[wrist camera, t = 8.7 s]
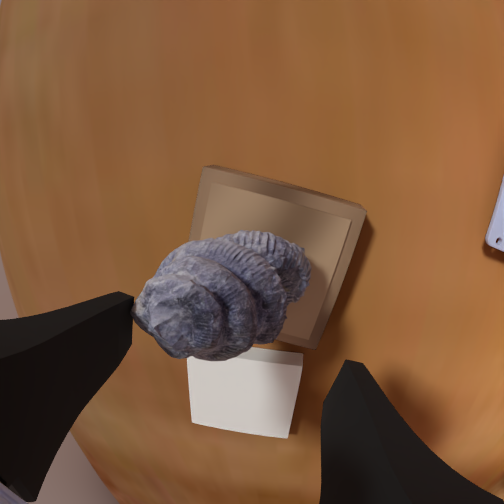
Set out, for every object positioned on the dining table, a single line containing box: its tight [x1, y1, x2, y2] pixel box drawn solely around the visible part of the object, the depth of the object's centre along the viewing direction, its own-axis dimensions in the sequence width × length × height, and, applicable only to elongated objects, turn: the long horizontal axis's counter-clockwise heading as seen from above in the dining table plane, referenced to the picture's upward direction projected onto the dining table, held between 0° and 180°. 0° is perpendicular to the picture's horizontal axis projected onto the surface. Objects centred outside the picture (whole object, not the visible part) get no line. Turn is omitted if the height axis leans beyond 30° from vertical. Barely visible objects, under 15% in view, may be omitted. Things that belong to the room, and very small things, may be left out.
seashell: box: [130, 230, 312, 361], centre depth 13 cm, size 5×5×10 cm
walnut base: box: [189, 165, 367, 350], centre depth 19 cm, size 9×9×2 cm
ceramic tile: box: [187, 347, 303, 438], centre depth 23 cm, size 8×8×2 cm
